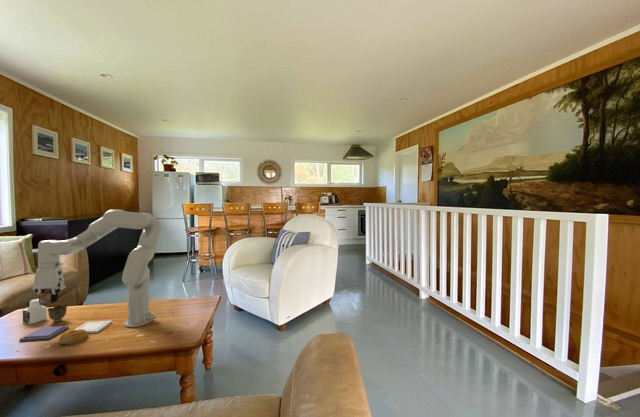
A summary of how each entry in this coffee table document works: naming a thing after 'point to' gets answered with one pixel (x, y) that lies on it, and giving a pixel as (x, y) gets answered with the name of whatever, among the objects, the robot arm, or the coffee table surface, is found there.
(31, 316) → the medicine bottle
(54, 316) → the cup
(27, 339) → the ink pad
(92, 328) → the board
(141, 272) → the robot arm
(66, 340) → the bagel
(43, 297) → the stamp
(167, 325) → the coffee table surface
